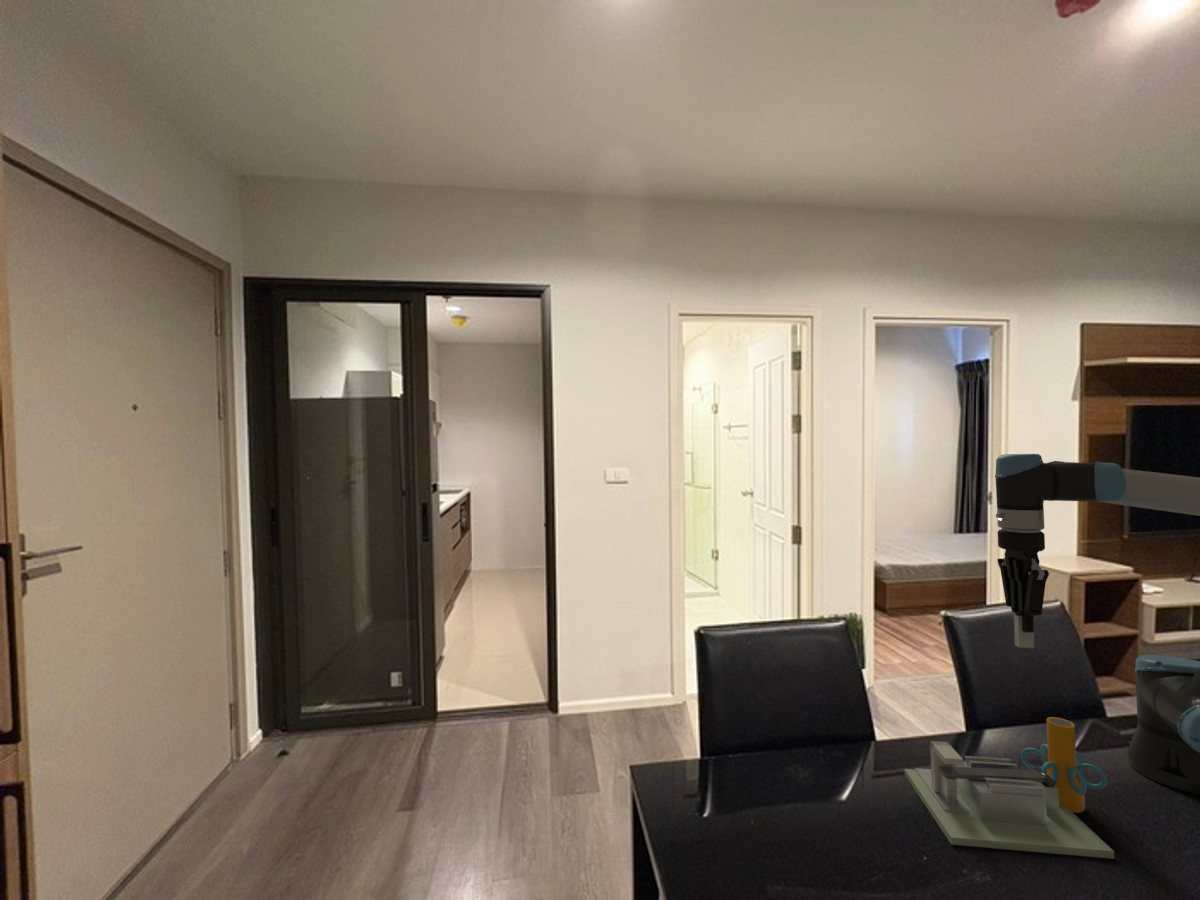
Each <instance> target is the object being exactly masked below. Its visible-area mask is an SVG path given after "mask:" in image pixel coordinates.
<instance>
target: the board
mask: <svg viewBox="0 0 1200 900" xmlns="http://www.w3.org/2000/svg"><path fill="white" fill-rule="evenodd" d="M904 776H905V779H907V780H908V782H909V783H910V785H911V787H912V788H913V790H914V791H915V792H916V794H917V795H918V797H919V798H920V800H921V801H922V803H923V804H924V806H925V807H926V809H927V810H928V812H929V813H930V816H932V818H933V820H934V821H935V822H936V824H937V826H938V827H939V829H940V830H941V831H942V833H943V834H944V836H945V837H946V839H947V840H948V841H949V843H950V845H951V846H952V845H953V846H962V847H963V846H966V847H976V848H988V849H998V850H1010V851H1021V852H1023V851H1024V852H1033V853H1044V854H1056V855H1067V856H1078V857H1089V858H1100V859H1115V850H1113V849H1112V848H1111V847H1110V846H1109V845H1108V844H1107V843H1106V842H1105V841H1103V839H1101V837H1099V836H1098V835H1097V834H1096V833H1095V832H1094V830H1092V829H1090V827H1088V826H1087V824H1085V823H1084V822H1083V821H1082V820H1081V819H1080V818H1079V817H1078V816H1077V815H1076V813H1072V812H1071V811H1070V810H1069V809H1068V808H1067V807H1064V806H1061V805H1059V817H1057V816H1046V815H1045V826H1036V825H1023V824H1011V823H999V822H986V821H981V820H980V819H979V818H978V817H977V815H976V814H975V813H974V812H973V810H972V809H971V808H970V807H969V805H968V804H967V803H966V802H965V800H964V799H963V798H962V796H961V795H960V794H959V793H958V791H957V805H948V804H947V803H946V801H945V800H944V799H943V797H942V796H941V795H940V793H939V792H935V791H934V790H933V788H932V781H931V768H920V767H919V768H917V767H915V768H914V769H912V768H911V769H910V768H904Z"/></svg>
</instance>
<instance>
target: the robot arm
mask: <svg viewBox="0 0 1200 900" xmlns="http://www.w3.org/2000/svg"><path fill="white" fill-rule="evenodd" d="M994 478H995V492H996V494H995V495H996V510H997V511H996V514H995V518H997V526H998V528H1000V529H998V531H997V546H998V548H1000V549H1002V550H1005V551H1004V558H997V561H996V562H997V565H998V566H999V570H1000V575H1001V581H1002V587H1003V593H1004V594H1003V595H1004V600H1005V605H1006V607H1010V609H1011V612H1012V613H1013V624H1014V625H1013V628H1014V629H1013V631H1014V646H1016V647H1018V648H1020V649H1021V648H1022V649H1023V648H1025V649H1027V648H1028V649H1035V631H1034V629H1035V628H1034V627H1035V626H1034V625H1035V624H1034V617H1037V616H1041V615H1042V614H1043V606H1044V598H1045V593H1046V592H1045V589H1046V584H1047V581H1048V578H1049V576H1050V571H1049V570H1048V569H1042V568H1041V566H1040V559H1039V556H1038V553H1039V552H1043V551H1045V549H1046V544H1045V542H1046V539H1045V538H1046V537H1045V533H1044V532H1043V531H1042V530H1044V529H1045V513H1044V511H1045V509H1044V502H1045V501H1047V502H1054V501H1055V502H1056V501H1057V502H1058V501H1061V502H1097V503H1104V504H1105V503H1106V504H1114V505H1119V506H1120V505H1121V506H1129V507H1135V508H1141V509H1148V510H1156V511H1163V512H1170V513H1178V514H1185V515H1193V516H1199V517H1200V477H1198V476H1189V475H1181V474H1180V475H1179V474H1173V473H1172V474H1171V473H1162V472H1152V471H1146V470H1144V471H1143V470H1136V469H1128V468H1122V467H1121V466H1120V464H1118V463H1115V462H1101V461H1095V462H1077V461H1076V462H1073V461H1072V462H1071V461H1061V460H1054V461H1049V462H1044V461H1043V457H1042V455H1041V454H1039V453H1017V454H1016V453H1011V454H1006V453H1005V454H1000V455H998V456H997V458H996V460H995V475H994ZM1134 673H1135V691H1136V693H1135V696H1136V697H1135V698H1136V715H1137V716H1136V718H1137V724H1136V725H1137V726H1136V728H1135V730H1134V733H1133V736H1132V738H1131V740H1130V743H1129V745H1128V746H1127V747H1126V756H1127V757H1126V759H1127V763H1128V764H1129V766H1130V767H1131V768H1132V769H1134V770H1135V771H1136V772H1139V774H1142V775H1143V776H1144V777H1147V778H1149V779H1151V780H1152V781H1155V782H1158V783H1160V784H1162V785H1165V786H1166V787H1167V786H1168V787H1170V788H1173V789H1176V790H1179V791H1183V792H1186V793H1191V794H1195V795H1200V661H1198V660H1194V659H1190V658H1184V657H1183V658H1182V657H1176V656H1167V655H1157V654H1143V655H1139V656H1138V657H1136V659H1135V668H1134Z"/></svg>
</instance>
